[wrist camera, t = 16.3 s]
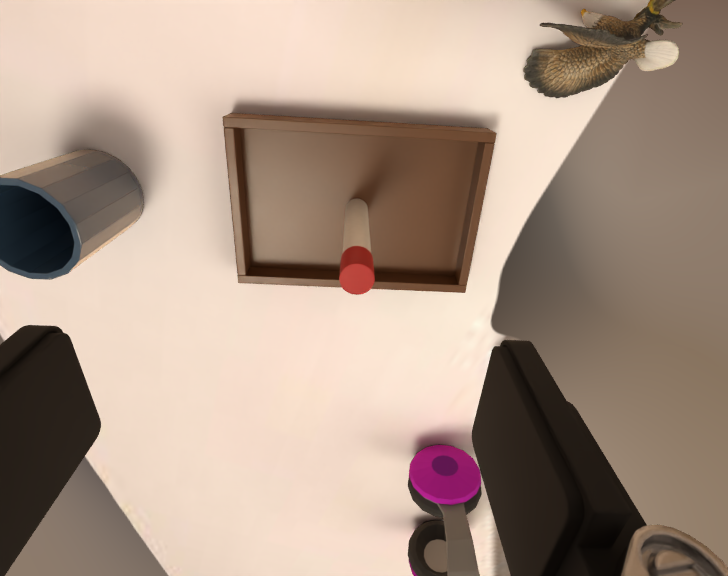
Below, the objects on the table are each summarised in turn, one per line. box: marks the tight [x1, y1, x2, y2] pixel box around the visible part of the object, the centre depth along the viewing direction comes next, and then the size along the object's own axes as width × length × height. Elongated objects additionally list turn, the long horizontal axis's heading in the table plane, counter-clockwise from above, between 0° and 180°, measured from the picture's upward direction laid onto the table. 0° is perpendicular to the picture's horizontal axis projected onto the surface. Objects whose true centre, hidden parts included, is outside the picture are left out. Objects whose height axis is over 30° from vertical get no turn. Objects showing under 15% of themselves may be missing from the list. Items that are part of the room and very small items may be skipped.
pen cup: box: [0, 149, 144, 279], centre depth 33 cm, size 7×7×10 cm
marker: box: [339, 199, 375, 295], centre depth 32 cm, size 2×2×14 cm
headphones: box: [408, 445, 481, 576], centre depth 49 cm, size 21×9×20 cm, turn 3°
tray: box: [223, 113, 496, 293], centre depth 38 cm, size 15×22×3 cm
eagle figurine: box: [524, 0, 682, 98], centre depth 30 cm, size 8×7×9 cm
